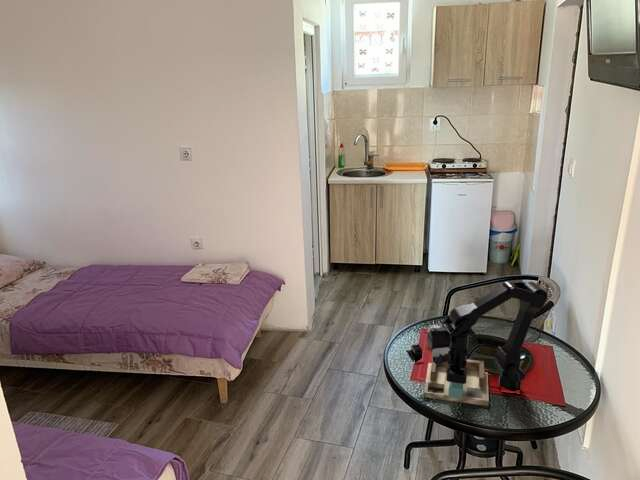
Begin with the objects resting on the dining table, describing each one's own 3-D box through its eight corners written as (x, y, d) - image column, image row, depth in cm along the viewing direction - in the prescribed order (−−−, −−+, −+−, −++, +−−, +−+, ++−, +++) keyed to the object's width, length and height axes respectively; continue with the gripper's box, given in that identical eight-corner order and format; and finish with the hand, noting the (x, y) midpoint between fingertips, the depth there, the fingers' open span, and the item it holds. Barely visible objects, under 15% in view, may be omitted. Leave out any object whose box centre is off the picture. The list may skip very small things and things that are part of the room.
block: (462, 388, 170) (463, 379, 168) (462, 398, 167) (462, 389, 164) (449, 386, 172) (449, 377, 169) (448, 396, 168) (448, 387, 166)
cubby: (483, 369, 181) (483, 361, 180) (483, 386, 172) (484, 378, 171) (432, 363, 186) (432, 355, 185) (430, 379, 177) (430, 371, 176)
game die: (439, 349, 206) (455, 331, 203) (433, 352, 198) (449, 334, 195) (423, 333, 209) (439, 316, 206) (416, 335, 202) (432, 318, 199)
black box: (431, 364, 190) (431, 354, 189) (412, 367, 189) (413, 357, 187) (419, 347, 202) (419, 337, 200) (402, 350, 200) (402, 339, 199)
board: (487, 374, 182) (487, 369, 181) (488, 406, 165) (488, 400, 165) (428, 367, 187) (428, 362, 187) (423, 397, 171) (424, 391, 171)
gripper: (436, 327, 176) (434, 364, 182) (431, 357, 160) (429, 397, 165) (469, 331, 173) (465, 369, 179) (467, 362, 157) (464, 402, 162)
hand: (455, 383), depth 171 cm, fingers closed
